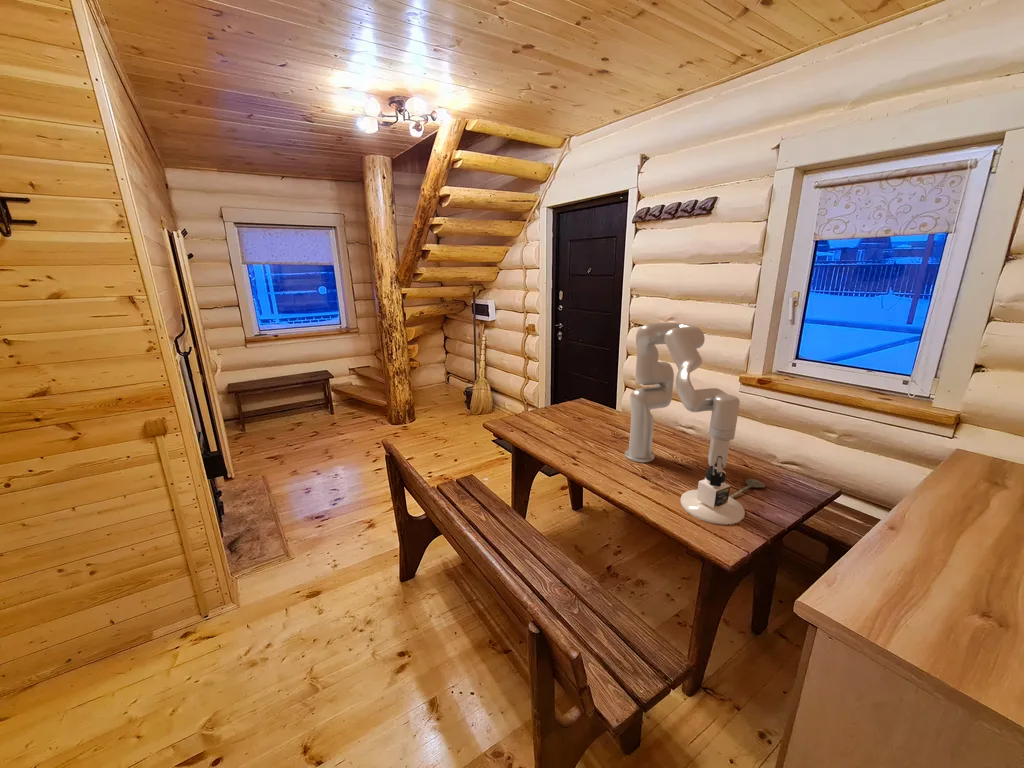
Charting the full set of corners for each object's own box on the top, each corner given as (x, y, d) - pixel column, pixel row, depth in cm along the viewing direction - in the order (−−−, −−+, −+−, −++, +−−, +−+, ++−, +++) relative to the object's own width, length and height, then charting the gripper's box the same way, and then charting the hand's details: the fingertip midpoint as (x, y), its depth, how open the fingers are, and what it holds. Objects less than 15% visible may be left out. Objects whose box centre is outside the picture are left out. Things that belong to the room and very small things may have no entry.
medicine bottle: (714, 509, 135) (718, 477, 132) (695, 499, 141) (700, 468, 138) (727, 503, 138) (732, 472, 135) (709, 494, 145) (714, 463, 141)
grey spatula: (768, 489, 154) (751, 482, 160) (769, 481, 153) (752, 474, 159) (737, 504, 143) (719, 496, 148) (738, 495, 142) (720, 488, 147)
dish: (681, 488, 153) (681, 485, 153) (741, 499, 145) (741, 496, 145) (679, 516, 135) (679, 513, 135) (747, 530, 128) (748, 527, 127)
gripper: (708, 421, 142) (702, 467, 147) (710, 439, 127) (703, 490, 132) (732, 424, 139) (725, 471, 144) (737, 443, 124) (728, 495, 129)
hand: (714, 480), depth 138 cm, fingers closed on medicine bottle, 6 cm apart
